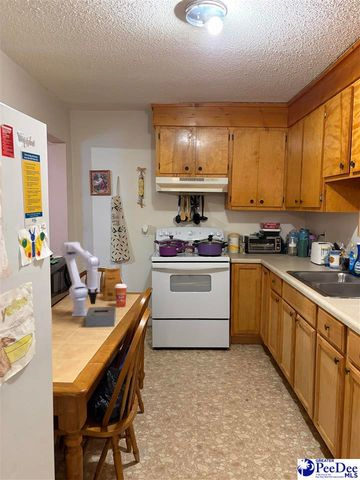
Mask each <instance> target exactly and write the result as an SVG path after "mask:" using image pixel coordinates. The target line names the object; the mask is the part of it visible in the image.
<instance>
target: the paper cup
mask: <svg viewBox="0 0 360 480" xmlns="http://www.w3.org/2000/svg"><path fill="white" fill-rule="evenodd" d="M115 288H116V307H117V308H125V307H126V304H127V288H128V286H127V284H125V283H121V284H117V285H116V286H115Z"/></svg>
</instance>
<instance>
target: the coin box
mask: <svg viewBox="0 0 360 480" xmlns="http://www.w3.org/2000/svg"><path fill="white" fill-rule="evenodd" d="M116 307H117V306H94V307H93V306H91V307H88V309H87V314H86V316H84V317H85V319H84V320H85V321H84V322H85V328H103V327H105V328H106V327H115V325H116V317H117V316H116V315H117V314H116V313H117V311H116V309H117V308H116Z"/></svg>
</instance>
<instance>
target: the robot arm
mask: <svg viewBox="0 0 360 480" xmlns="http://www.w3.org/2000/svg"><path fill="white" fill-rule="evenodd" d="M60 247H61V248H60V250H61V254H62V257H63V258H64V259H65V263H66V265H67V269H68V273H69V277H70V280H71V283H72V285H71V286H70V287H69V289H68V290H69V298H70V300H71V301H72V314H71V317H85V316H86V314H87V312H88V310H87V309H86V306H87V303H86V300H87V298H88V297H89V302H90V304H91V305H96V301H97V296H98V294H99V291H98V288H99V284H98V283H99V280H98V279H99V274H98V273H99V271H98V267H99V266H100V265H101V264H100V258H99V257H98V256H97V255H92V254H91V252H89V251H88V250H84V249H83V248H82V247H81V243H80V242H79V241H71V242H70V241H68V242H62V244H61V246H60ZM78 256H79V258H80V260H81V261H82V262H84V265H85V271H86V279H87V280H86V283H87V284H85V283H83V282H82V280H81V277H80V274H79V270H78V265H77V264H76V260H75V259H76V258H77V257H78Z"/></svg>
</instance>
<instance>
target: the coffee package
mask: <svg viewBox="0 0 360 480" xmlns="http://www.w3.org/2000/svg"><path fill="white" fill-rule="evenodd" d="M121 279H122V278H121V267H115V268H104V275H103V281H102V282H103V284H102V298H103V301H105V302H108V301H112V302H115V301H116V288H115V286H116V285H117V284H122V283H121V282H122V281H121Z"/></svg>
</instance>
